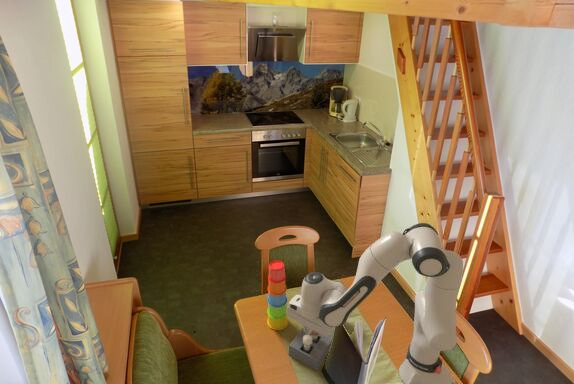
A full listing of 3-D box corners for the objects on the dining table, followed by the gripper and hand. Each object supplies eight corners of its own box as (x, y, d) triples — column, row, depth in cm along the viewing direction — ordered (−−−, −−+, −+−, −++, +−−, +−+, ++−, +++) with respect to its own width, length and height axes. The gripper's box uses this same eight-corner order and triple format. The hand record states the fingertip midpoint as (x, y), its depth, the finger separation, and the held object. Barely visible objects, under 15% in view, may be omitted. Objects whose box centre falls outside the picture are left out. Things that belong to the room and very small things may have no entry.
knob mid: (320, 337, 169) (321, 327, 166) (315, 343, 166) (317, 333, 163) (312, 333, 171) (313, 323, 168) (307, 339, 168) (308, 329, 165)
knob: (313, 347, 164) (314, 337, 161) (308, 354, 161) (309, 343, 158) (305, 343, 166) (306, 333, 163) (300, 349, 163) (301, 339, 160)
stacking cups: (274, 334, 177) (276, 276, 160) (263, 319, 184) (264, 262, 168) (292, 325, 182) (296, 268, 165) (281, 311, 189) (284, 255, 173)
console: (336, 340, 175) (337, 330, 172) (316, 370, 161) (317, 361, 158) (309, 326, 182) (310, 317, 179) (288, 354, 167) (289, 345, 165)
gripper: (337, 314, 150) (333, 339, 157) (293, 292, 159) (291, 316, 166) (330, 324, 145) (326, 349, 152) (285, 301, 155) (283, 326, 161)
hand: (307, 332), depth 159 cm, fingers closed
